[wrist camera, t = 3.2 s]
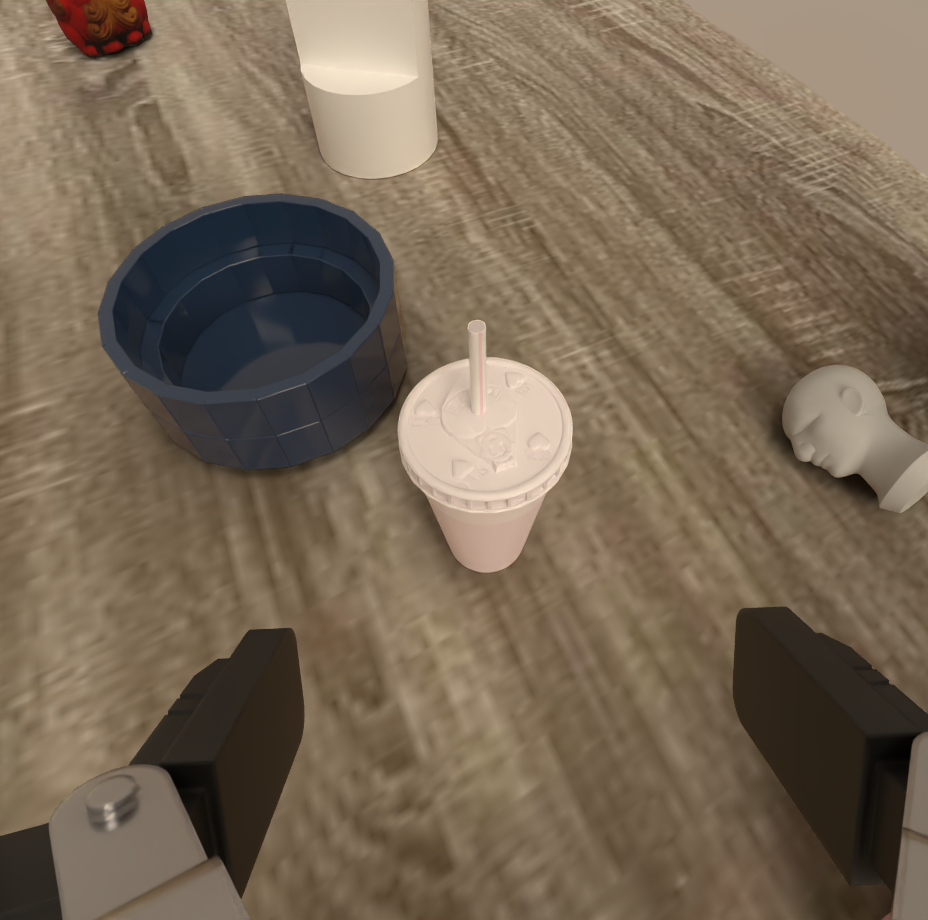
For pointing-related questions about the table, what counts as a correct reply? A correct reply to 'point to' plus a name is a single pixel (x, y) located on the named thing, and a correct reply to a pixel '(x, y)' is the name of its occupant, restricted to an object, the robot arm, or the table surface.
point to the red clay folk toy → (102, 24)
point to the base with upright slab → (368, 82)
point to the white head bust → (855, 435)
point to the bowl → (259, 329)
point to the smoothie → (485, 450)
